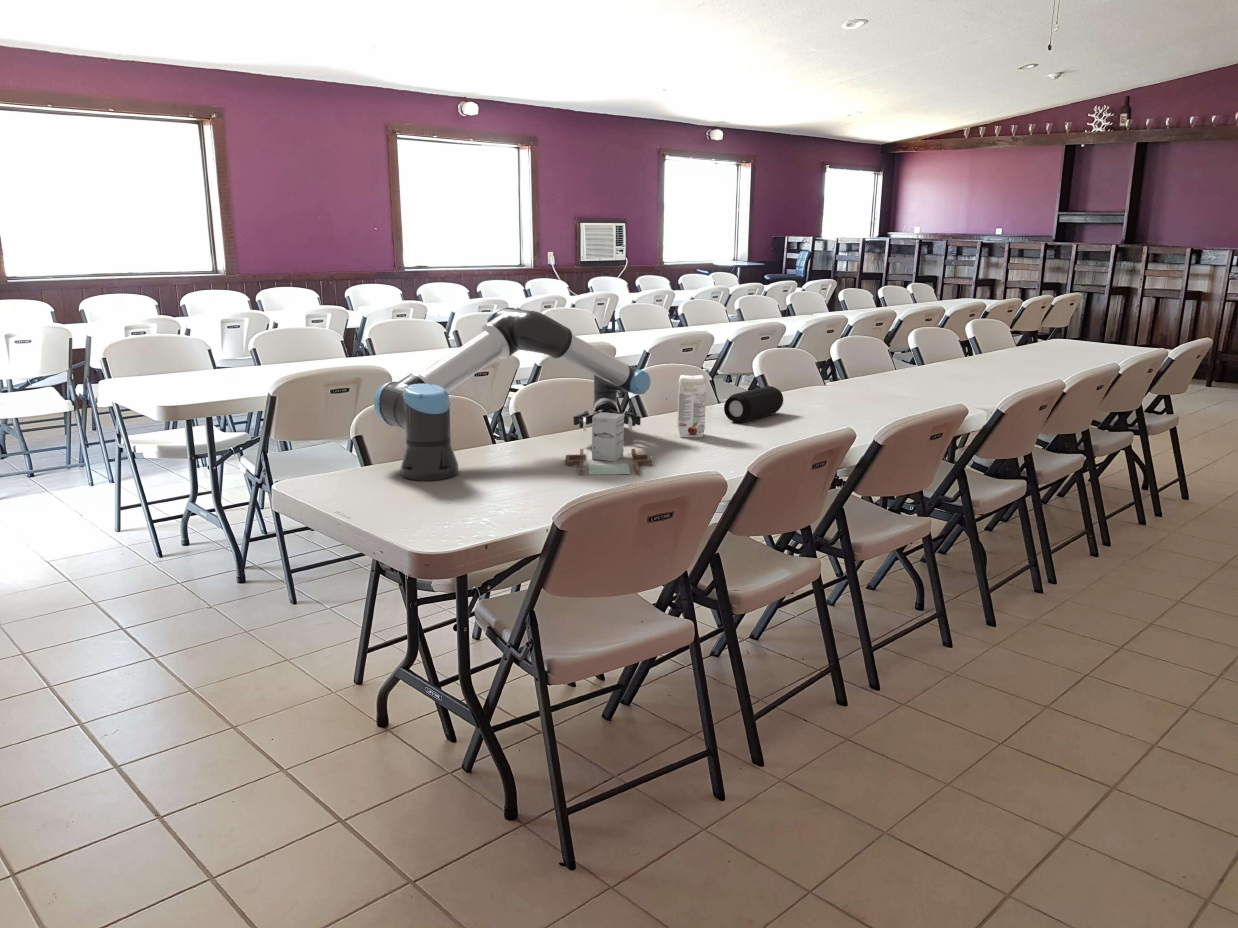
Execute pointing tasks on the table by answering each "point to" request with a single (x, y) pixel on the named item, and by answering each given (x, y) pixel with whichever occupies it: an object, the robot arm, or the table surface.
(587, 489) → the table surface
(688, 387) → the juice carton
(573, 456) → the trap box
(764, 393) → the portable speaker
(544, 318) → the robot arm
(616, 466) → the pad
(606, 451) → the supplement box
